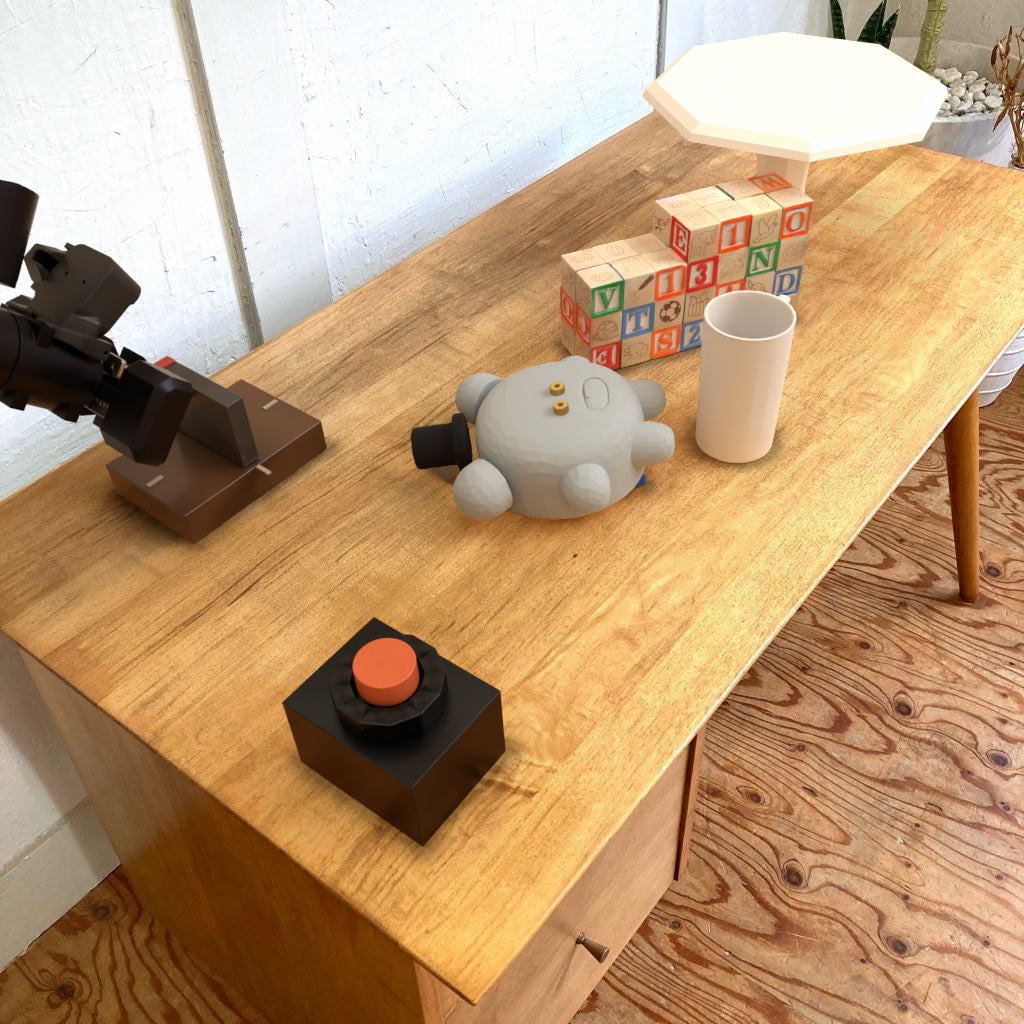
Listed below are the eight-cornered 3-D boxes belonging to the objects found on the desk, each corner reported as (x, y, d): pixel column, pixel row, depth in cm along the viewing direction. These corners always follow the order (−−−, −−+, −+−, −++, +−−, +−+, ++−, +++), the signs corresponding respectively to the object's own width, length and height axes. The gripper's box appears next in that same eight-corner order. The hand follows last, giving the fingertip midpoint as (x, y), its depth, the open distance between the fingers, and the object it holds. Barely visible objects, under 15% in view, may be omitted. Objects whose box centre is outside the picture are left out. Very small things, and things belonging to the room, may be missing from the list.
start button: (343, 687, 60) (338, 668, 59) (385, 647, 62) (381, 627, 61) (390, 717, 58) (386, 698, 57) (432, 675, 60) (429, 655, 59)
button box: (300, 762, 65) (275, 683, 60) (386, 677, 70) (369, 597, 64) (422, 847, 61) (407, 770, 55) (506, 751, 65) (499, 671, 60)
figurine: (659, 395, 90) (430, 426, 92) (653, 311, 84) (409, 345, 86) (688, 537, 77) (422, 570, 79) (684, 450, 72) (397, 487, 73)
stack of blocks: (588, 379, 93) (589, 255, 84) (559, 343, 97) (557, 221, 89) (795, 320, 98) (816, 198, 90) (759, 288, 103) (775, 168, 94)
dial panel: (208, 553, 79) (197, 523, 77) (104, 484, 85) (92, 455, 83) (340, 456, 87) (334, 426, 85) (236, 399, 93) (228, 370, 91)
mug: (746, 477, 83) (765, 351, 74) (675, 444, 86) (686, 319, 78) (811, 415, 88) (835, 290, 80) (741, 385, 91) (758, 263, 83)
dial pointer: (259, 457, 82) (242, 394, 78) (244, 468, 81) (225, 404, 77) (187, 416, 87) (166, 353, 82) (171, 426, 86) (150, 363, 81)
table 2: (637, 181, 120) (643, 29, 109) (889, 181, 117) (923, 25, 106) (634, 316, 100) (641, 147, 89) (938, 320, 97) (986, 146, 86)
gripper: (125, 278, 62) (297, 345, 76) (-41, 195, 71) (140, 268, 85) (57, 449, 63) (238, 485, 77) (-98, 347, 72) (89, 395, 86)
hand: (174, 401), depth 81 cm, fingers closed
